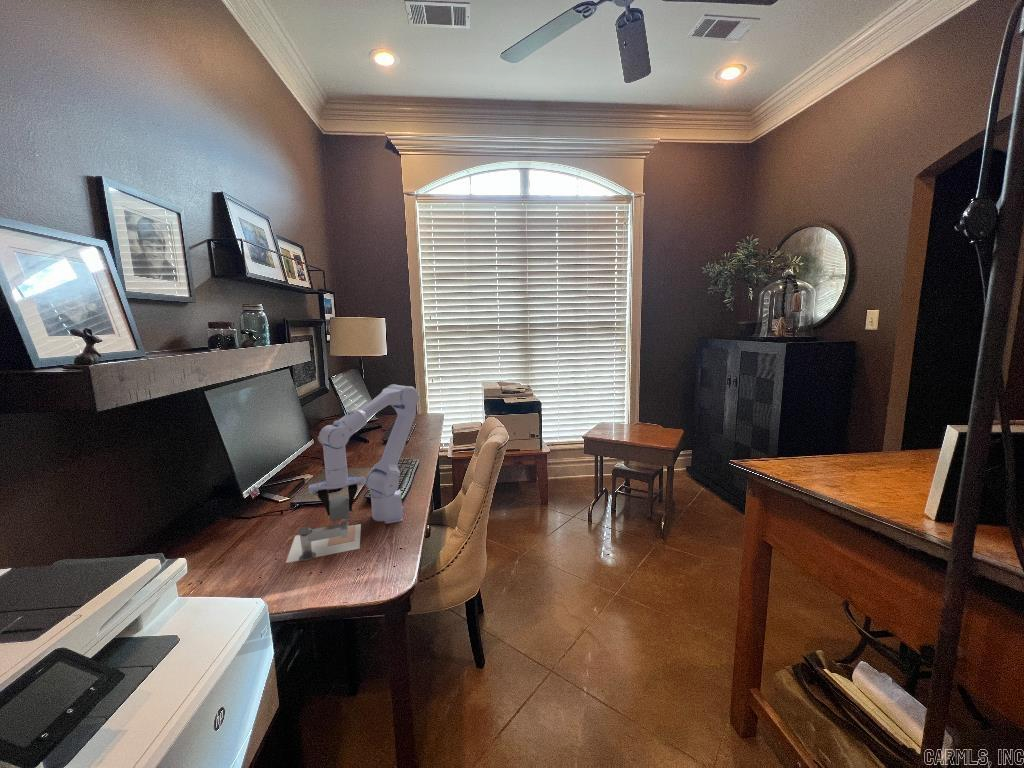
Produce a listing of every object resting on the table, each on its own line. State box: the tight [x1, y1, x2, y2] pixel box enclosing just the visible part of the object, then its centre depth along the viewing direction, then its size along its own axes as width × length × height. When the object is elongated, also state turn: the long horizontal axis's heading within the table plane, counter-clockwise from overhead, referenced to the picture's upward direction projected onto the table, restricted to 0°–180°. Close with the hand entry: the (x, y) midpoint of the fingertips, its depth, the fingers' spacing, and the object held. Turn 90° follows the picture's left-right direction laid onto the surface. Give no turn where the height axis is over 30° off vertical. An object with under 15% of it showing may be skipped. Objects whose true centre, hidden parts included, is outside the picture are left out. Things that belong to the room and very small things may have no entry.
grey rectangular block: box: [329, 494, 351, 523], centre depth 111 cm, size 5×7×4 cm
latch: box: [297, 519, 349, 558], centre depth 103 cm, size 5×12×8 cm, turn 111°
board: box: [285, 523, 362, 564], centre depth 108 cm, size 18×15×1 cm
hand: (340, 511), depth 111 cm, fingers closed on grey rectangular block, 5 cm apart
